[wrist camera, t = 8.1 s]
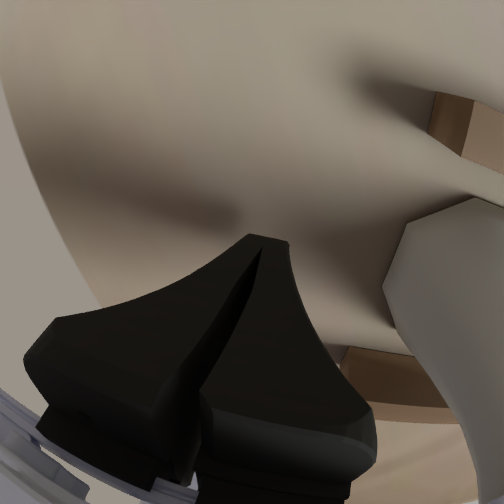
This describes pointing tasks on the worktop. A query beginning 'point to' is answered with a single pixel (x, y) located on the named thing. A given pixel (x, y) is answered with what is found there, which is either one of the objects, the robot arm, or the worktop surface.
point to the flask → (458, 321)
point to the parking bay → (407, 367)
